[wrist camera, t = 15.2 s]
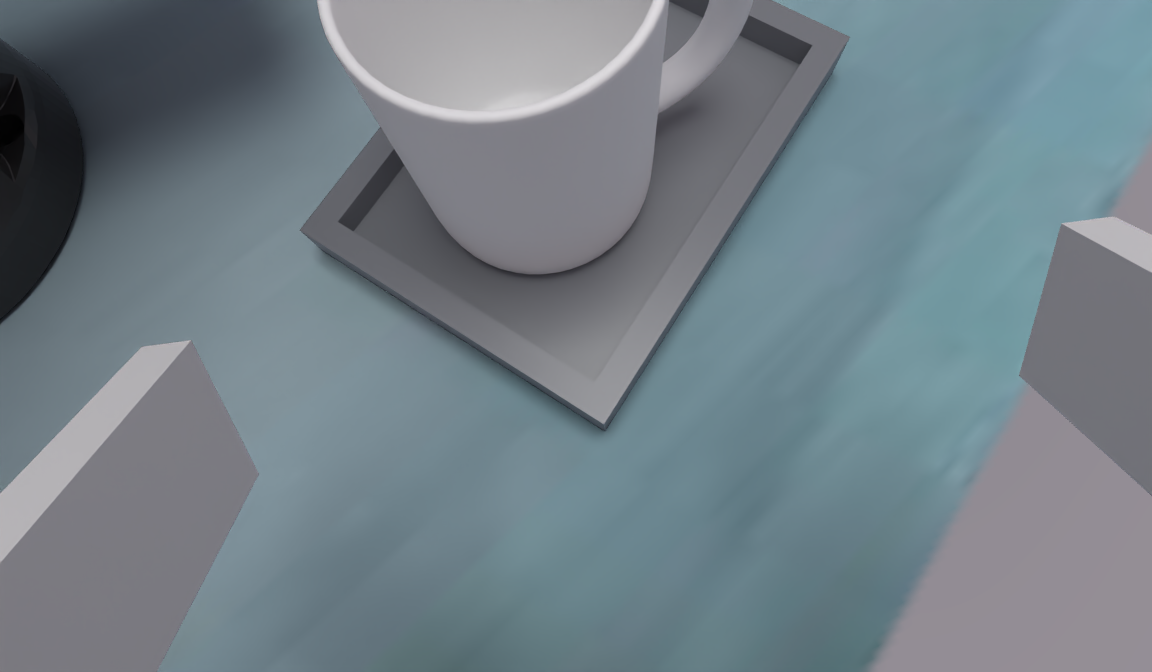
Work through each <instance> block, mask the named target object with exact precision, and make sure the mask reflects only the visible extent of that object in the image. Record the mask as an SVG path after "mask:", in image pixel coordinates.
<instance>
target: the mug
mask: <svg viewBox="0 0 1152 672" xmlns="http://www.w3.org/2000/svg"><path fill="white" fill-rule="evenodd" d="M317 3H318V9H319V15H320V20H321V23H322V26H323V29H324V32H325V35H326V37H327V39H328V41H329V43H330V45H331V47H332V49H333V51H334V52H335V54H336V56H337V58H338V59H339V61H340V62H341V64H342V66H343V67H344V69H345V70H346V72H347V74H348V75H349V77H350V78H351V80H352V82H353V83H354V85H355V87H356V88H357V90H358V91H359V93H360V95H361V96H362V98H363V99H364V101H365V103H366V104H367V106H368V107H369V109H370V111H371V112H372V114H373V115H374V117H375V119H376V120H377V122H378V124H379V125H380V127H381V128H382V130H383V132H384V133H385V135H386V136H387V138H388V140H389V141H390V143H391V144H392V146H393V148H394V149H395V151H396V152H397V154H398V156H399V157H400V159H401V160H402V162H403V164H404V165H405V167H406V169H407V170H408V172H409V173H410V175H411V177H412V178H413V180H414V181H415V183H416V185H417V186H418V188H419V189H420V191H421V193H422V194H423V196H424V197H425V199H426V201H427V202H428V204H429V206H430V207H431V209H432V210H433V212H434V214H435V215H436V217H437V218H438V220H439V221H440V222H441V224H442V225H443V226H444V228H445V229H446V230H447V232H448V233H449V234H450V235H451V236H452V237H453V238H454V239H455V240H456V242H457V243H458V244H459V245H460V246H462V247H463V248H464V249H466V250H467V251H468V252H469V253H471V254H472V255H473V256H475V257H476V258H478V259H480V260H482V261H483V262H485V263H487V264H489V265H492V266H494V267H497V268H499V269H503V270H507V271H511V272H514V273H522V274H549V273H557V272H562V271H566V270H570V269H573V268H576V267H578V266H581V265H583V264H586V263H588V262H590V261H592V260H593V259H595V258H597V257H599V256H600V255H602V254H603V253H605V252H606V251H607V250H609V249H610V248H611V247H612V246H614V245H615V244H616V243H617V242H618V241H619V240H620V239H621V238H622V237H623V236H624V234H625V233H626V232H627V231H628V230H629V228H630V227H631V226H632V224H633V222H634V221H635V219H636V217H637V216H638V214H639V212H640V210H641V207H642V205H643V203H644V201H645V198H646V194H647V191H648V187H649V184H650V179H651V172H652V164H653V156H654V146H655V135H656V126H657V117H658V113H660V112H662V111H664V110H665V109H667V108H669V107H670V106H672V105H674V104H675V103H677V102H678V101H680V100H681V99H683V98H684V97H685V96H687V95H688V94H689V93H691V92H692V91H693V90H694V89H695V88H697V87H698V86H699V85H700V84H701V83H702V82H703V81H704V80H705V79H706V78H707V77H708V76H710V75H711V73H712V72H713V71H714V70H715V69H716V68H717V67H718V65H719V64H720V63H721V62H722V60H723V59H724V58H725V56H726V55H727V54H728V52H729V51H730V49H731V48H732V46H733V44H734V43H735V41H736V39H737V38H738V36H739V34H740V33H741V31H742V29H743V27H744V24H745V22H746V20H747V18H748V15H749V12H750V10H751V7H752V4H753V0H709V4H708V7H707V9H706V12H705V15H704V17H703V19H702V21H701V23H700V25H699V27H698V28H697V30H696V31H695V33H694V34H693V35H692V37H691V38H690V39H689V40H688V41H687V43H686V44H685V45H684V46H683V47H682V48H681V49H680V50H679V51H678V52H677V53H675V54H674V55H673V56H672V57H671V58H669V59H668V60H667V61H665V62H664V63H663V55H664V46H665V37H666V28H667V18H668V6H669V0H317Z"/></svg>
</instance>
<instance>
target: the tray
mask: <svg viewBox="0 0 1152 672" xmlns="http://www.w3.org/2000/svg"><path fill="white" fill-rule="evenodd" d="M708 4H709V0H669V6H668V18H667V28H666V37H665V46H664V55H663V63H664V62H665V61H667V60H668V59H669V58H671V57H672V56H673V55H674V54H675V53H677V52H678V51H679V50H680V49H681V48H682V47H683V46H684V45H685V44H686V43H687V41H688V40H689V39H690V38H691V37H692V35H693V34H694V33H695V31H696V30H697V28H698V27H699V25H700V23H701V21H702V19H703V17H704V15H705V12H706V9H707V7H708ZM849 38H850V37H849V36H847V35H844V34H842V33H840V32H838V31H836V30H834V29H832V28H829V27H827V26H825V25H823V24H821V23H819V22H817V21H815V20H812V19H810V18H808V17H806V16H804V15H802V14H800V13H797V12H795V11H793V10H791V9H789V8H787V7H785V6H782V5H780V4H778V3H776V2H774V1H772V0H753V4H752V7H751V10H750V12H749V15H748V18H747V20H746V22H745V24H744V27H743V29H742V31H741V33H740V34H739V36H738V38H737V39H736V41H735V43H734V44H733V46H732V48H731V49H730V51H729V52H728V54H727V55H726V56H725V58H724V59H723V60H722V62H721V63H720V64H719V65H718V67H717V68H716V69H715V70H714V71H713V72H712V73H711V75H710V76H708V77H707V78H706V79H705V80H704V81H703V82H702V83H701V84H700V85H699V86H698V87H697V88H695V89H694V90H693V91H692V92H691V93H689V94H688V95H687V96H685V97H684V98H683V99H681V100H680V101H678V102H677V103H675V104H674V105H672V106H670V107H669V108H667V109H665V110H664V111H662V112H660V113H658V117H657V126H656V135H655V146H654V156H653V164H652V172H651V179H650V184H649V187H648V191H647V194H646V198H645V201H644V203H643V205H642V207H641V210H640V212H639V214H638V216H637V217H636V219H635V221H634V222H633V224H632V226H631V227H630V228H629V230H628V231H627V232H626V233H625V234H624V236H623V237H622V238H621V239H620V240H619V241H618V242H617V243H616V244H615V245H614V246H612V247H611V248H610V249H609V250H607V251H606V252H605V253H603V254H602V255H600V256H599V257H597V258H595V259H593V260H592V261H590V262H588V263H586V264H583V265H581V266H578V267H576V268H573V269H570V270H566V271H562V272H557V273H549V274H522V273H514V272H511V271H507V270H503V269H499V268H497V267H494V266H492V265H489V264H487V263H485V262H483V261H482V260H480V259H478V258H476V257H475V256H473V255H472V254H471V253H469V252H468V251H467V250H466V249H464V248H463V247H462V246H460V245H459V244H458V243H457V242H456V240H455V239H454V238H453V237H452V236H451V235H450V234H449V233H448V232H447V230H446V229H445V228H444V226H443V225H442V224H441V222H440V221H439V220H438V218H437V217H436V215H435V214H434V212H433V210H432V209H431V207H430V206H429V204H428V202H427V201H426V199H425V197H424V196H423V194H422V193H421V191H420V189H419V188H418V186H417V185H416V183H415V181H414V180H413V178H412V177H411V175H410V173H409V172H408V170H407V169H406V167H405V165H404V164H403V162H402V160H401V159H400V157H399V156H398V154H397V152H396V151H395V149H394V148H393V146H392V144H391V143H390V141H389V140H388V138H387V136H386V135H385V133H384V132H383V130H382V128H381V127H380V128H379V129H378V131H377V132H376V133H375V135H374V136H373V137H372V138H371V140H370V141H369V142H368V144H367V145H366V146H365V147H364V149H363V150H362V151H361V152H360V154H359V155H358V156H357V158H356V159H355V160H354V161H353V163H352V164H351V165H350V167H349V168H348V169H347V170H346V172H345V173H344V174H343V175H342V177H341V178H340V179H339V181H338V182H337V183H336V184H335V186H334V187H333V188H332V190H331V191H330V192H329V193H328V195H327V196H326V197H325V198H324V200H323V201H322V202H321V204H320V205H319V206H318V207H317V209H316V210H315V211H314V212H313V214H312V215H311V216H310V218H309V219H308V220H307V221H306V223H305V224H304V225H303V227H302V228H301V229H300V231H301V232H302V233H303V234H305V235H306V236H307V237H308V238H309V239H310V240H311V241H313V242H314V243H315V244H316V245H317V246H318V247H319V248H321V249H322V250H323V251H324V252H326V253H327V254H329V255H330V256H332V257H333V258H335V259H337V260H338V261H340V262H341V263H343V264H344V265H346V266H348V267H349V268H351V269H352V270H354V271H355V272H357V273H358V274H360V275H362V276H363V277H365V278H366V279H368V280H369V281H371V282H373V283H374V284H376V285H377V286H379V287H380V288H382V289H383V290H385V291H387V292H388V293H390V294H391V295H393V296H394V297H396V298H398V299H399V300H401V301H402V302H404V303H405V304H407V305H408V306H410V307H412V308H413V309H415V310H416V311H418V312H419V313H421V314H423V315H424V316H426V317H427V318H429V319H430V320H432V321H433V322H435V323H437V324H438V325H440V326H441V327H443V328H444V329H446V330H448V331H449V332H451V333H452V334H454V335H455V336H457V337H458V338H460V339H462V340H463V341H465V342H466V343H468V344H469V345H471V346H472V347H474V348H476V349H477V350H479V351H480V352H482V353H483V354H485V355H487V356H488V357H490V358H491V359H493V360H494V361H496V362H497V363H499V364H501V365H502V366H504V367H505V368H507V369H508V370H510V371H512V372H513V373H515V374H516V375H518V376H519V377H521V378H522V379H524V380H526V381H527V382H529V383H530V384H532V385H533V386H535V387H537V388H538V389H540V390H541V391H543V392H544V393H546V394H547V395H549V396H551V397H552V398H554V399H555V400H557V401H558V402H560V403H562V404H563V405H565V406H566V407H568V408H569V409H571V410H572V411H574V412H576V413H577V414H579V415H580V416H582V417H583V418H585V419H587V420H588V421H590V422H591V423H593V424H594V425H596V426H597V427H599V428H601V429H602V430H604V431H606V429H607V427H608V426H609V424H610V423H611V421H612V420H613V418H614V416H615V415H616V413H617V412H618V410H619V409H620V407H621V405H622V404H623V402H624V401H625V399H626V397H627V396H628V394H629V393H630V391H631V390H632V388H633V386H634V385H635V383H636V382H637V380H638V379H639V377H640V375H641V374H642V372H643V371H644V369H645V367H646V366H647V364H648V363H649V361H650V360H651V358H652V356H653V355H654V353H655V352H656V350H657V349H658V347H659V345H660V344H661V342H662V341H663V339H664V337H665V336H666V334H667V333H668V331H669V330H670V328H671V326H672V325H673V323H674V322H675V320H676V319H677V317H678V315H679V314H680V312H681V311H682V309H683V307H684V306H685V304H686V303H687V301H688V300H689V298H690V296H691V295H692V293H693V292H694V290H695V289H696V287H697V285H698V284H699V282H700V281H701V279H702V277H703V276H704V274H705V273H706V271H707V270H708V268H709V266H710V265H711V263H712V262H713V260H714V259H715V257H716V255H717V254H718V252H719V251H720V249H721V247H722V246H723V244H724V243H725V241H726V240H727V238H728V236H729V235H730V233H731V232H732V230H733V229H734V227H735V225H736V224H737V222H738V221H739V219H740V218H741V216H742V214H743V213H744V211H745V210H746V208H747V206H748V205H749V203H750V202H751V200H752V199H753V197H754V195H755V194H756V192H757V191H758V189H759V188H760V186H761V184H762V183H763V181H764V180H765V178H766V176H767V175H768V173H769V172H770V170H771V169H772V167H773V165H774V164H775V162H776V161H777V159H778V158H779V156H780V154H781V153H782V151H783V150H784V148H785V146H786V145H787V143H788V142H789V140H790V139H791V137H792V135H793V134H794V132H795V131H796V129H797V128H798V126H799V124H800V123H801V121H802V120H803V118H804V116H805V115H806V113H807V112H808V110H809V109H810V107H811V105H812V104H813V102H814V101H815V99H816V98H817V96H818V94H819V93H820V91H821V90H822V88H823V86H824V85H825V83H826V82H827V80H828V79H829V77H830V75H831V74H832V72H833V70H834V68H835V66H836V64H837V62H838V60H839V58H840V56H841V54H842V52H843V50H844V48H845V46H846V44H847V42H848V40H849Z"/></svg>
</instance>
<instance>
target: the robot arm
mask: <svg viewBox="0 0 1152 672" xmlns="http://www.w3.org/2000/svg"><path fill="white" fill-rule="evenodd" d="M82 169H83V151H82V141H81V136H80V131H79V127H78V124H77V120H76V117H75V115H74V112H73V110H72V108H71V106H70V104H69V102H68V100H67V98H66V97H65V95H64V94H63V92H62V91H61V89H60V88H59V87H58V85H57V84H56V83H55V82H54V81H53V80H52V79H51V78H50V77H49V76H48V75H47V74H46V73H45V72H44V71H43V70H41V69H40V68H39V67H38V66H36V65H35V64H34V63H32V62H31V61H30V60H28V59H27V58H26V57H24V56H23V55H22V54H20V53H19V52H18V51H17V50H15V49H14V48H13V47H11V46H10V45H9V44H7V43H6V42H5V41H3V40H2V39H1V38H0V319H1V318H2V317H3V316H4V315H5V314H6V313H8V312H9V311H10V310H11V309H12V308H13V307H14V306H15V305H16V304H17V303H18V302H19V301H20V300H21V299H22V298H23V297H24V296H25V294H26V293H27V292H28V291H29V290H30V289H31V288H32V286H33V285H34V284H35V283H36V281H37V280H38V279H39V278H40V276H41V275H42V273H43V272H44V271H45V269H46V268H47V266H48V265H49V263H50V262H51V260H52V259H53V257H54V255H55V254H56V252H57V250H58V248H59V246H60V245H61V243H62V241H63V239H64V237H65V234H66V232H67V230H68V228H69V225H70V223H71V220H72V217H73V215H74V211H75V208H76V205H77V201H78V197H79V192H80V187H81V180H82ZM1019 376H1020V377H1021V378H1022V379H1023V380H1024V381H1026V382H1027V383H1028V384H1029V385H1030V386H1031V387H1032V388H1033V389H1034V390H1036V391H1037V392H1038V393H1039V394H1040V395H1041V396H1042V397H1043V398H1044V399H1045V400H1047V401H1048V402H1049V403H1050V404H1051V405H1052V406H1053V407H1054V408H1055V409H1056V410H1058V411H1059V412H1060V413H1061V414H1062V415H1063V416H1064V417H1065V418H1066V419H1067V420H1069V421H1070V422H1071V423H1072V424H1073V425H1074V426H1075V427H1076V428H1077V429H1079V430H1080V431H1081V432H1082V433H1083V434H1084V435H1085V436H1086V437H1087V438H1088V439H1090V440H1091V441H1092V442H1093V443H1094V444H1095V445H1096V446H1097V447H1098V448H1100V449H1101V450H1102V451H1103V452H1104V453H1105V454H1106V455H1107V456H1108V457H1109V458H1111V459H1112V460H1113V461H1114V462H1115V463H1116V464H1117V465H1118V466H1119V467H1120V468H1121V469H1123V470H1124V471H1125V472H1126V473H1127V474H1128V475H1129V476H1131V478H1133V479H1134V480H1135V481H1136V482H1137V483H1138V484H1139V485H1140V486H1141V487H1143V488H1144V489H1145V490H1146V491H1147V492H1148V493H1149V494H1150V495H1151V496H1152V235H1151V234H1149V233H1147V232H1144V231H1142V230H1140V229H1138V228H1136V227H1134V226H1132V225H1130V224H1128V223H1126V222H1124V221H1122V220H1120V219H1118V218H1116V217H1107V218H1099V219H1092V220H1084V221H1077V222H1069V223H1062V224H1061V227H1060V230H1059V234H1058V238H1057V241H1056V245H1055V248H1054V252H1053V256H1052V259H1051V263H1050V266H1049V270H1048V274H1047V277H1046V281H1045V284H1044V288H1043V291H1042V295H1041V299H1040V302H1039V306H1038V309H1037V313H1036V317H1035V320H1034V324H1033V327H1032V331H1031V335H1030V338H1029V342H1028V345H1027V349H1026V352H1025V356H1024V360H1023V363H1022V367H1021V370H1020V374H1019ZM258 475H259V473H258V471H257V469H256V467H255V465H254V463H253V461H252V459H251V457H250V455H249V453H248V452H247V450H246V448H245V446H244V444H243V442H242V440H241V438H240V436H239V434H238V432H237V430H236V428H235V426H234V424H233V422H232V420H231V418H230V416H229V414H228V412H227V410H226V408H225V406H224V404H223V402H222V400H221V398H220V396H219V394H218V392H217V390H216V388H215V386H214V384H213V382H212V380H211V378H210V376H209V374H208V372H207V370H206V368H205V366H204V364H203V363H202V361H201V359H200V357H199V355H198V353H197V351H196V349H195V347H194V345H193V343H192V341H191V340H189V341H181V342H174V343H166V344H159V345H151V346H144V347H141V348H140V349H139V350H138V351H137V352H136V353H135V354H134V355H133V356H132V357H131V359H130V360H129V361H128V362H127V363H126V364H125V365H124V366H123V367H122V368H121V369H120V370H119V371H118V372H117V373H116V374H115V375H114V376H113V377H112V378H111V379H110V380H109V381H108V382H107V383H106V384H105V386H104V387H103V388H102V389H101V390H100V391H99V392H98V393H97V394H96V395H95V396H94V397H93V398H92V399H91V400H90V401H89V402H88V403H87V404H86V405H85V406H84V407H83V408H82V409H81V410H80V411H79V412H78V414H77V415H76V416H75V417H74V418H73V419H72V420H71V421H70V422H69V423H68V424H67V425H66V426H65V427H64V428H63V429H62V430H61V431H60V432H59V433H58V434H57V435H56V436H55V437H54V438H53V439H52V440H51V442H50V443H49V444H48V445H47V446H46V447H45V448H44V449H43V450H42V451H41V452H40V453H39V454H38V455H37V456H36V457H35V458H34V459H33V460H32V461H31V462H30V463H29V464H28V465H27V466H26V467H25V468H24V470H23V471H22V472H21V473H20V474H19V475H18V476H17V477H16V478H15V479H14V480H13V481H12V482H11V483H10V484H9V485H8V486H7V487H6V488H5V489H4V490H3V491H2V492H1V493H0V672H157V670H158V668H159V666H160V665H161V663H162V661H163V659H164V657H165V655H166V653H167V651H168V649H169V647H170V645H171V643H172V641H173V639H174V637H175V635H176V634H177V632H178V630H179V628H180V626H181V624H182V622H183V620H184V618H185V616H186V614H187V612H188V610H189V608H190V606H191V605H192V603H193V601H194V599H195V597H196V595H197V593H198V591H199V589H200V587H201V585H202V583H203V581H204V579H205V577H206V576H207V574H208V572H209V570H210V568H211V566H212V564H213V562H214V560H215V558H216V556H217V554H218V552H219V550H220V548H221V547H222V545H223V543H224V541H225V539H226V537H227V535H228V533H229V531H230V529H231V527H232V525H233V523H234V521H235V519H236V518H237V516H238V514H239V512H240V510H241V508H242V506H243V504H244V502H245V500H246V498H247V496H248V494H249V492H250V490H251V488H252V487H253V485H254V483H255V481H256V479H257V477H258Z"/></svg>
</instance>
